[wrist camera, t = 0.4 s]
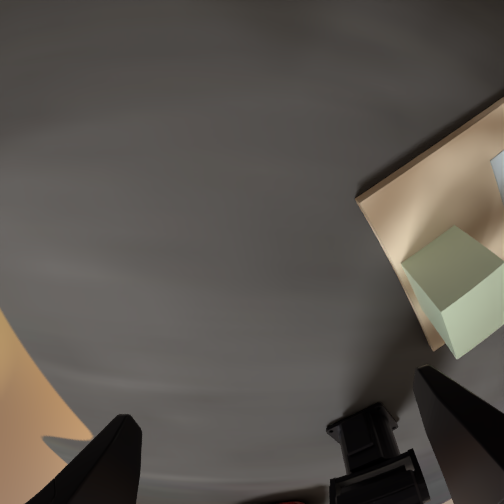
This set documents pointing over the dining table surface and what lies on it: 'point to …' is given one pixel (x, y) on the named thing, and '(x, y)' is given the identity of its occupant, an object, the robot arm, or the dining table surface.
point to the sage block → (458, 288)
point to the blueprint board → (442, 198)
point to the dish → (291, 503)
